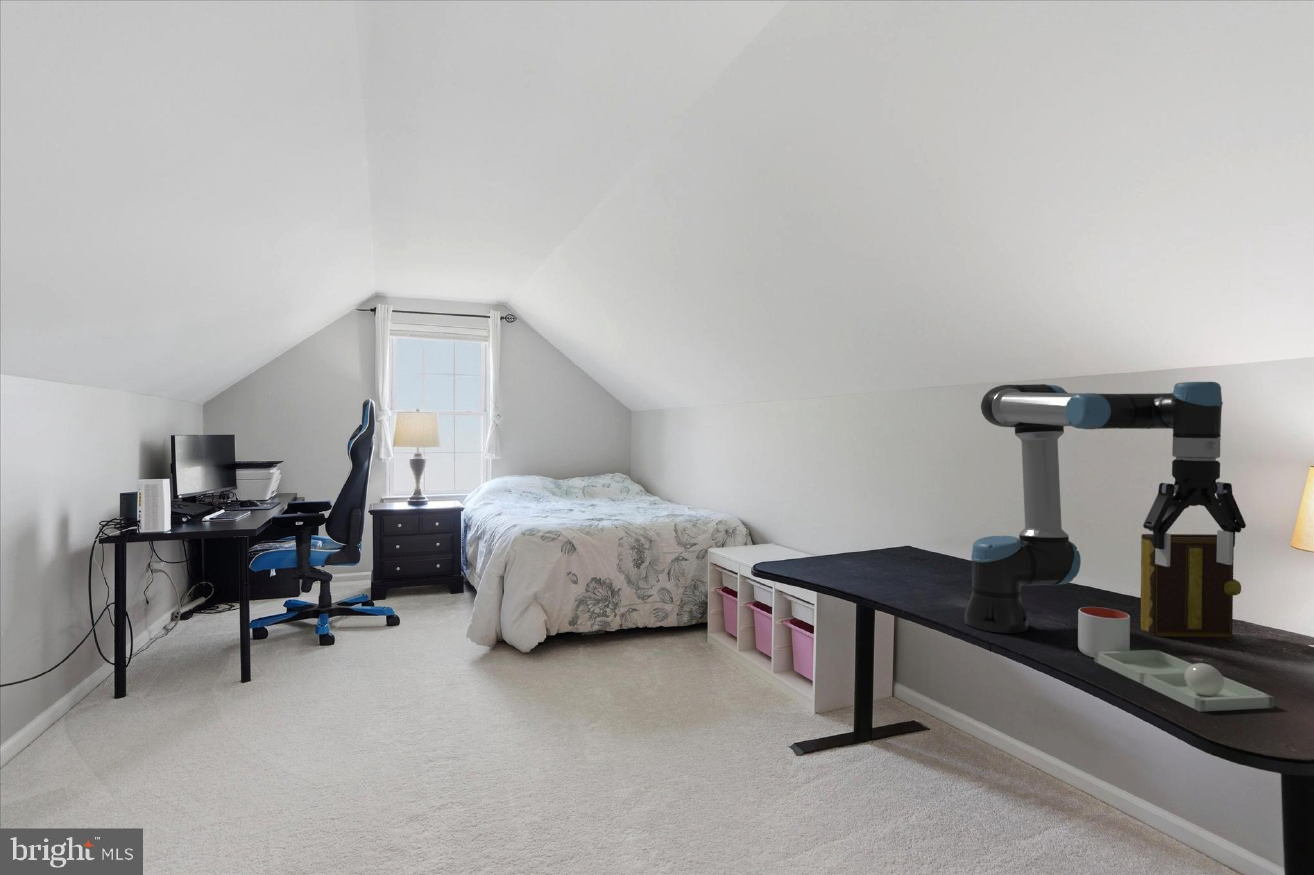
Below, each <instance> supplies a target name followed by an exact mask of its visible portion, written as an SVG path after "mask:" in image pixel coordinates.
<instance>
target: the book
mask: <svg viewBox="0 0 1314 875" xmlns="http://www.w3.org/2000/svg"><path fill="white" fill-rule="evenodd" d="M1170 534H1171V533H1170ZM1140 543H1141V548H1140V549H1141V551H1140V553H1141V554H1140V556H1141V557H1140V615H1139V616H1140V620H1139V622H1140V625H1139V626H1140V627H1139V630H1140V631H1141V632H1142V633H1145V634H1146V635H1150V636H1152V637H1163V638H1169V637H1170V638H1221V639H1222V638H1223V639H1224V638H1226V639H1227V638H1230V639H1231V638H1233V623H1234V622H1233V620H1234V619H1233V618H1234V617H1233V615H1234V613H1233V612H1234V611H1233V610H1234V609H1233V606H1234V602H1233V601H1234V596H1238V595H1240V594H1241V592H1242V585H1241V583H1240V581H1238V580H1237V579H1235V578H1234V554H1235V552H1234V551H1235V550H1234V548H1235V546H1234V547H1233V562H1232V565H1227V564H1223V563H1219V562H1216V561H1217V534H1210V533H1209V534H1206V533H1205V534H1203V533H1202V534H1200V533H1199V534H1197V533H1196V534H1195V533H1194V534H1193V533H1192V534H1191V533H1186V534H1185V533H1184V534H1183V533H1174V534H1173V533H1172V534H1171V543H1170V567H1166V566H1162V565H1158V564H1155V548H1154V547H1153V533H1144V534H1143V533H1142V534H1141V542H1140Z"/></svg>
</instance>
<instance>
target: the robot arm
mask: <svg viewBox="0 0 1314 875" xmlns="http://www.w3.org/2000/svg"><path fill="white" fill-rule="evenodd" d="M1223 404H1224V402H1223V399H1222V386H1221V384H1220V383H1219V382H1216V381H1187V382H1185V381H1184V382H1183V381H1182V382H1178V383H1176V384H1174V385H1173V391H1172V392H1170V393H1162V392H1161V393H1159V392H1158V393H1150V392H1149V393H1096V392H1095V393H1094V392H1091V393H1090V392H1087V393H1086V392H1085V393H1081V392H1080V393H1079V392H1078V393H1075V392H1067V390H1065V389H1064V387H1062V386H1059V385H1057V384H1056V385H1054V384H1046V383H1043V384H1041V383H1040V384H1039V383H1038V384H1003V385H999V386H995V387H993V388H990V389H989V390H988V391H987V392H986V393H985V394H984V396H983V397H982V399H981V403H980V409H981V410H980V411H981V414H982V416H983V417H984V418H985V420H986V421H987V422H988V423H990V424H992V425H994V426H997V427H1001V428H1014V435H1015V436H1016V437H1017V438H1018V439H1019V440H1020V441H1021V461H1022V465H1021V466H1022V483H1023V484H1022V485H1023V487H1022V488H1023V509H1024V512H1023V513H1024V528H1023V530H1021V531H1020V532H1018V533H1019V535H1018V536H1019V537H1016V536H1013V535H1001V536H1000V535H991V536H985V537H981V538H978V539H977V540H975V541H974V542H973V543H972V550H971V596H970V599H969V601H968V603H967V606H966V609H965V611H964V623H965V624H966V625H968V626H969V627H972V628H974V629H975V628H976V629H978V630H982V631H985V632H993V633H1000V634H1017V633H1023V632H1026V631H1028V629H1029V620H1028V617H1027V614H1026V611H1025V608H1024V605H1023V602H1022V599H1021V598H1022V597H1021V590H1022V588H1021V587H1024V586H1026V587H1027V586H1058V585H1066V584H1069V583H1071V582H1072V581H1074V579H1075V578H1076V577H1077V576H1078V574H1079V572H1080V569H1081V562H1082V561H1081V554H1080V551H1079V550H1078V548H1077V546H1076V544H1075V543H1073V542H1072V541H1070V536H1069V534H1068V533H1067V532H1066V531H1064V530H1063V528H1062V527H1063V526H1062V513H1061V512H1062V508H1061V506H1062V504H1061V491H1060V490H1061V488H1060V486H1061V485H1060V464H1059V463H1060V462H1059V461H1060V460H1059V443H1058V442H1059V438H1060V437H1061V436H1063V435H1064V434H1065V431H1064V430H1065V428H1064V427H1072V428H1075V429H1082V430H1106V429H1107V430H1109V429H1111V430H1113V429H1119V430H1120V429H1121V430H1122V429H1124V430H1125V429H1126V430H1127V429H1130V430H1131V429H1133V430H1134V429H1135V430H1137V429H1139V430H1140V429H1141V430H1145V429H1146V430H1151V429H1156V430H1158V429H1159V430H1161V429H1167V430H1169V429H1172V452H1171V453H1172V454H1171V456H1173V457H1174V458H1175V459H1173V460H1172V461H1171V476H1172V477H1173V478H1174V484H1173V483H1167V482H1160V483H1159V484H1158V491H1157V495H1156V497H1155V499H1154V502H1153V504H1152V505H1151V508H1150V510H1149V511H1148V513H1147V516H1146V518H1145V519H1144V522H1143V524H1142V526H1143V529H1145V530H1148V531H1150V532H1152V534H1153V547H1154V548H1155V564H1158V565H1162V566H1166V567H1170V543H1171V533H1168V531H1169V530H1170V529H1171V527H1172V526H1173V525H1174V523H1175V522H1176V521H1177V519H1178V518H1179V517H1180V516H1181V514H1182V513H1183V512H1184V510H1185V509H1188V508H1190V506H1191V507H1197V506H1203V507H1204V508H1205V509H1206V511H1207V512H1208V514H1210V517H1212V518H1213V520H1214V522H1216V524H1217V525H1218V527H1220V529H1219V530H1216V535H1217V561H1216V562H1219V563H1223V564H1227V565H1232V562H1233V563H1234V560H1233V547H1234V548H1235V545H1236V533H1241V532H1242V529H1245V528H1246V527H1247V525H1246V522H1245V518H1244V517H1243V514H1242V513H1241V511H1240V508H1239V505H1238V504H1237V501H1236V499H1235V497H1234V495H1233V485H1232V483H1230V482H1221V481H1217V480H1219V479H1220V478H1221V462H1220V461H1219V460H1217V459H1219V458H1220V457H1221V437H1222V436H1221V432H1222V430H1221V429H1222V410H1223Z"/></svg>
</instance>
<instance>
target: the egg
mask: <svg viewBox="0 0 1314 875" xmlns="http://www.w3.org/2000/svg"><path fill="white" fill-rule="evenodd" d="M1192 664H1193V665H1190V666H1189V667H1188V668H1187V669H1186V671H1185V674H1184V678H1185V681H1186V683H1187V685H1188V686H1189V688H1190V689H1192V690H1193V691H1194V692H1196V693H1198V694H1201V695H1205V696H1212V695H1216V694H1218V693H1219V692H1221V690H1222V689H1223V687H1224V679H1223V677H1224V676H1223V675H1222V673H1221V672H1220V671H1219V670H1218V669H1217V668H1215V667H1214V666H1213V665H1211V664H1207V663H1204V662H1198V663H1197V662H1196V663H1192Z"/></svg>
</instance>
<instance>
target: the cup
mask: <svg viewBox="0 0 1314 875" xmlns="http://www.w3.org/2000/svg"><path fill="white" fill-rule="evenodd" d="M1077 612H1078V613H1077V616H1078V617H1077V623H1078V624H1077V647H1078V649H1079V652H1081V653H1082V654H1084V655H1086V656H1087V657H1090V658H1093V659H1094V652H1110V651H1131V647H1130V645H1131V642H1130V641H1131V638H1130V637H1131V616H1130V615H1129V614H1128V613H1127V612H1124V611H1120V610H1118V609H1113V608H1108V607H1107V608H1106V607H1098V606H1097V607H1096V606H1084V607H1080V608H1078V610H1077Z"/></svg>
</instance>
